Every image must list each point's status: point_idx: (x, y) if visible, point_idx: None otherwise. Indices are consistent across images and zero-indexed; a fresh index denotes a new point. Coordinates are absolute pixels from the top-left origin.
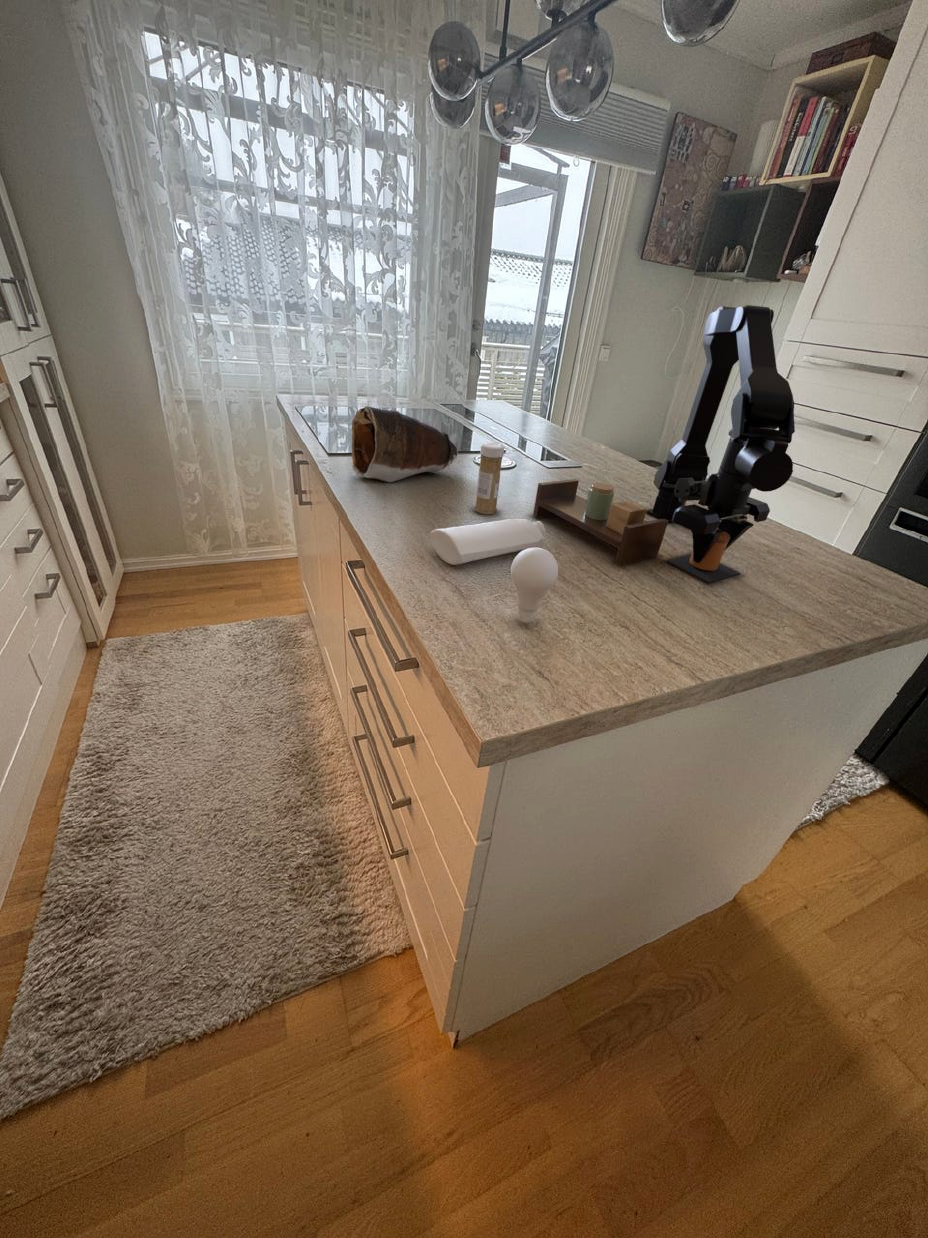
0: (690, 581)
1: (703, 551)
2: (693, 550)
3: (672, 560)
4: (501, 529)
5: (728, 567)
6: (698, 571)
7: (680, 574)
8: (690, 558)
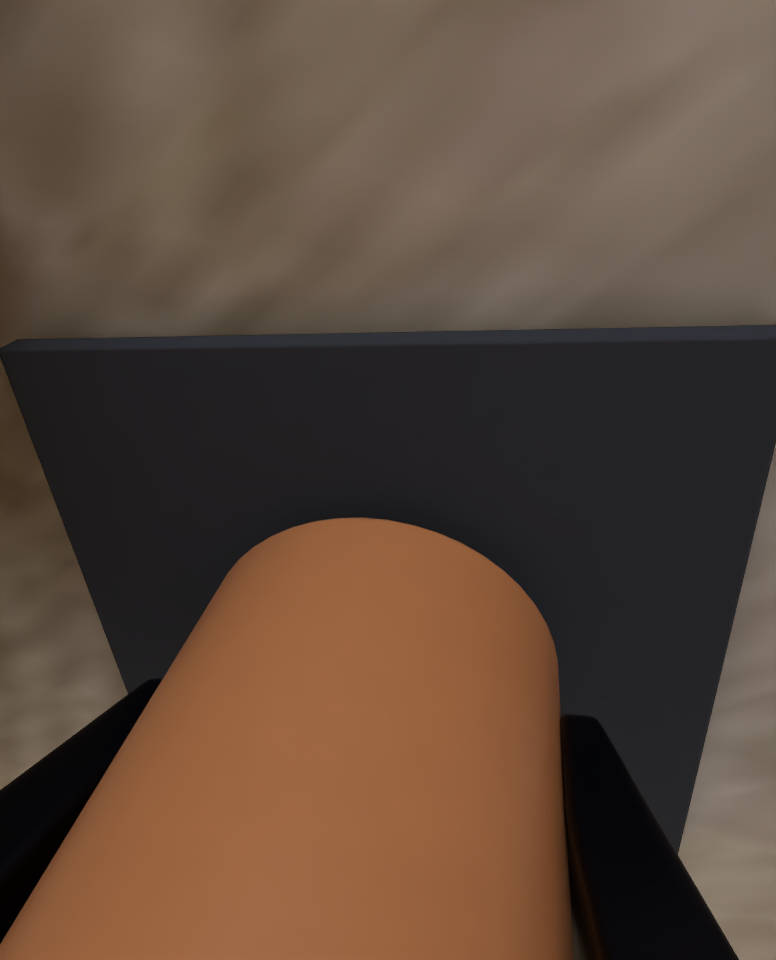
0: (51, 702)
1: None
2: (9, 790)
3: (81, 392)
4: None
5: (685, 779)
6: None
7: (32, 599)
8: (229, 581)
